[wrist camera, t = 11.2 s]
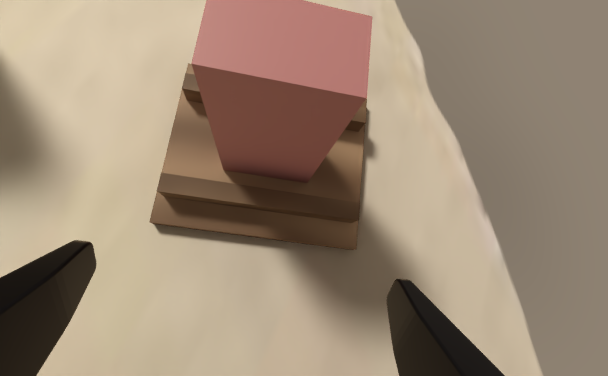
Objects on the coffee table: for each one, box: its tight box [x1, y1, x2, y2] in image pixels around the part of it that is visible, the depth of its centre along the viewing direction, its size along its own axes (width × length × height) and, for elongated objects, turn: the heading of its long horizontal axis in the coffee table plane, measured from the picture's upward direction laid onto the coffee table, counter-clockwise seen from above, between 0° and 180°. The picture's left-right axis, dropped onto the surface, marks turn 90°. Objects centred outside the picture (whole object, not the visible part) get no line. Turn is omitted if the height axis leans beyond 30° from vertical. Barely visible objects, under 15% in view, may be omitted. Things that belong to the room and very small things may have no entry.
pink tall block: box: [191, 0, 372, 183], centre depth 17 cm, size 4×6×12 cm, turn 84°
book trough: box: [150, 63, 367, 250], centre depth 22 cm, size 12×14×2 cm
